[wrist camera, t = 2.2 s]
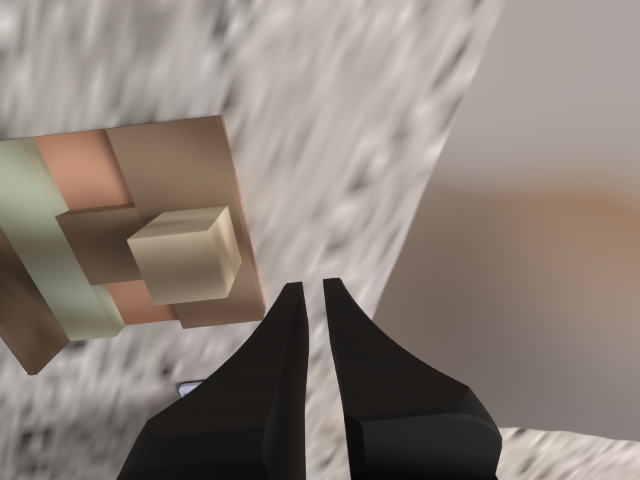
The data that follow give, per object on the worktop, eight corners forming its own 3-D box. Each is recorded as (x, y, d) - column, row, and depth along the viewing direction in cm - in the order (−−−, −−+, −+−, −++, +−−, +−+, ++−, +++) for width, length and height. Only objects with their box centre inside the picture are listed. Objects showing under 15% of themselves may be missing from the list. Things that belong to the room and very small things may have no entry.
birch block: (241, 262, 20) (226, 297, 16) (182, 268, 20) (154, 305, 16) (227, 205, 18) (207, 230, 14) (162, 212, 18) (126, 239, 15)
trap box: (265, 307, 23) (256, 350, 19) (77, 328, 23) (28, 375, 19) (222, 115, 17) (195, 118, 13) (-29, 144, 18) (-132, 156, 13)
